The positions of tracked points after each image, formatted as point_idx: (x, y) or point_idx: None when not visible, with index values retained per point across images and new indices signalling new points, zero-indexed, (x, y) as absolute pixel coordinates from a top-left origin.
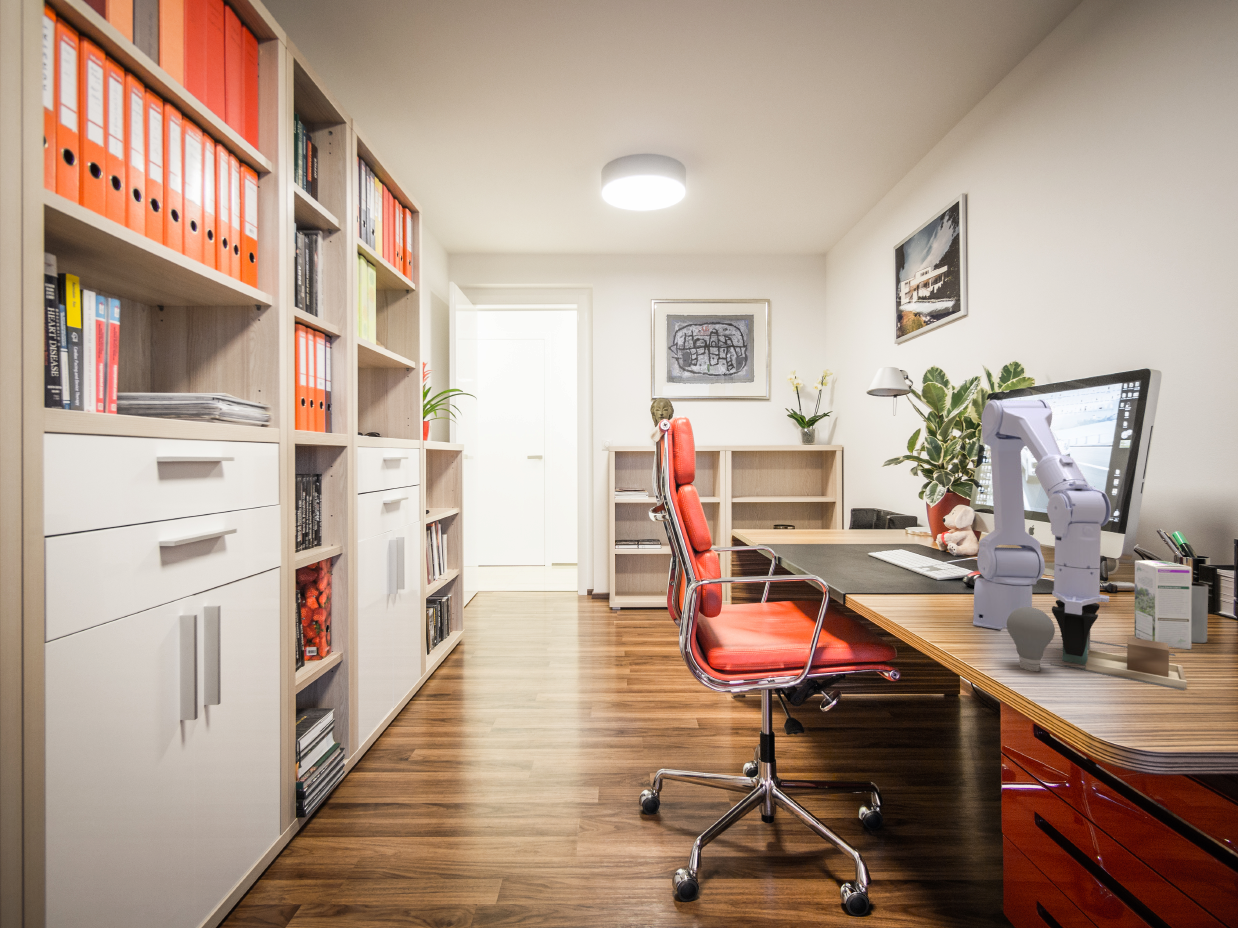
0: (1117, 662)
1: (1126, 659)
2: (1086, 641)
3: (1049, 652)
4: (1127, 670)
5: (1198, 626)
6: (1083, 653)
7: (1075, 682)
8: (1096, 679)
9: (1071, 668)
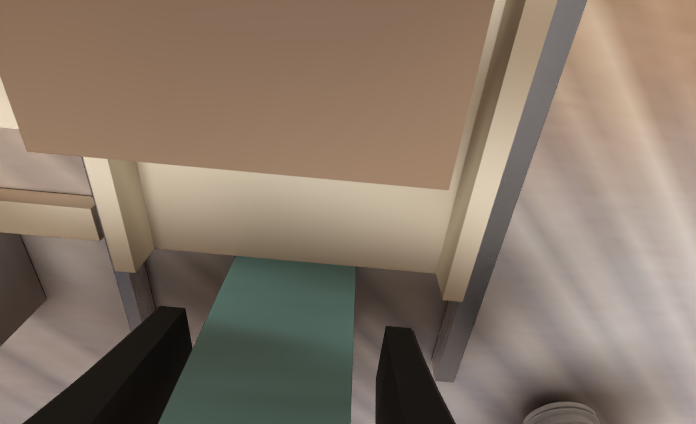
0: None
1: None
2: (449, 418)
3: None
4: (518, 109)
5: None
6: (415, 340)
7: (620, 299)
8: (522, 224)
9: (472, 321)
